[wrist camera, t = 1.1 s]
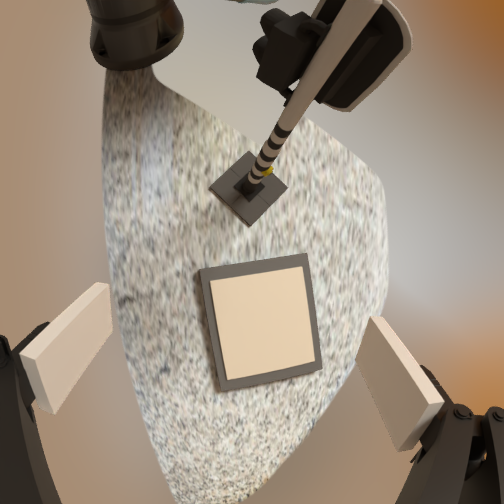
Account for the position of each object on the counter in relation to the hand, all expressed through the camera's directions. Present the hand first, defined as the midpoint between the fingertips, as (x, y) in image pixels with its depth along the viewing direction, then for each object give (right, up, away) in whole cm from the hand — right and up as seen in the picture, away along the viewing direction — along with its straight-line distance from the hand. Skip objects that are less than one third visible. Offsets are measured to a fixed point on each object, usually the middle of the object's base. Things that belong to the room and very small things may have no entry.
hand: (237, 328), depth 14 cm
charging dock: (+2, -5, +22) cm, 23 cm away
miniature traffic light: (0, +12, +23) cm, 26 cm away
